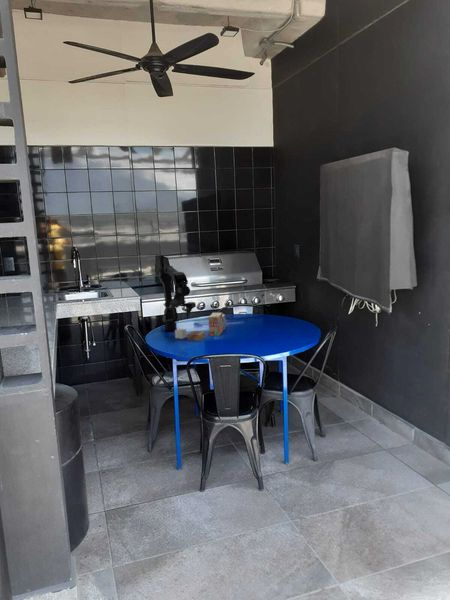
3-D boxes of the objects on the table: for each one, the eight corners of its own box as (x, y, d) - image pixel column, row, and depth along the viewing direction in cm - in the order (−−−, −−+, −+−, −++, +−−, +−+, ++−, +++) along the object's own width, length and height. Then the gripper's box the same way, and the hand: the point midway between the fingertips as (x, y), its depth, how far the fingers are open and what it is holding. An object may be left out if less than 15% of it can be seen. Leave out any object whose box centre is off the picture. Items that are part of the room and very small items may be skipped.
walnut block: (187, 340, 274) (187, 334, 273) (193, 337, 281) (193, 330, 280) (199, 341, 271) (199, 335, 270) (205, 338, 278) (205, 331, 277)
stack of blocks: (216, 327, 303) (216, 309, 301) (225, 327, 302) (225, 309, 299) (209, 335, 282) (208, 316, 280) (218, 336, 281) (218, 316, 279)
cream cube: (175, 338, 279) (174, 330, 278) (179, 336, 283) (178, 328, 282) (182, 338, 277) (182, 330, 276) (186, 336, 281) (186, 329, 280)
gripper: (159, 294, 271) (160, 320, 274) (187, 296, 264) (188, 322, 267) (168, 291, 281) (169, 316, 284) (195, 293, 274) (196, 318, 277)
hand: (180, 318), depth 278 cm, fingers open, 9 cm apart
